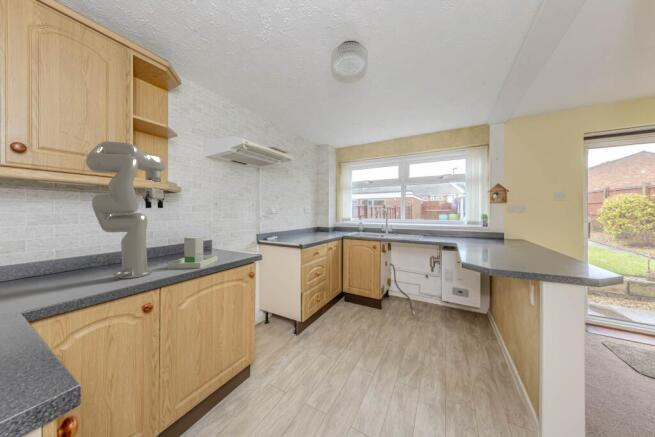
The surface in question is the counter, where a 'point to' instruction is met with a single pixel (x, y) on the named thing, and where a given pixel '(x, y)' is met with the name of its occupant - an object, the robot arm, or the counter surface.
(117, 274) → the robot arm
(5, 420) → the counter surface
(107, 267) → the counter surface
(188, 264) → the tray
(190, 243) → the skincare box
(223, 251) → the counter surface
